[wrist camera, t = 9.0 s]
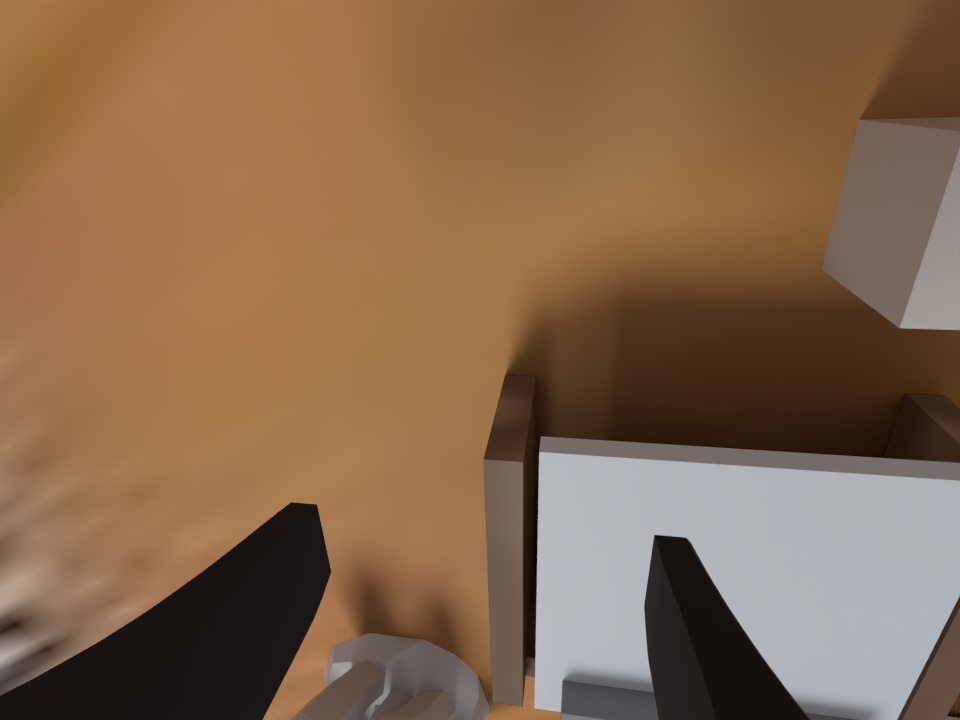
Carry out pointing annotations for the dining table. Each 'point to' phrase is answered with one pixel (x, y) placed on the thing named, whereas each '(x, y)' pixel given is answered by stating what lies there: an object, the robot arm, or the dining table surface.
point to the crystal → (396, 683)
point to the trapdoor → (745, 568)
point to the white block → (901, 221)
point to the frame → (510, 537)
